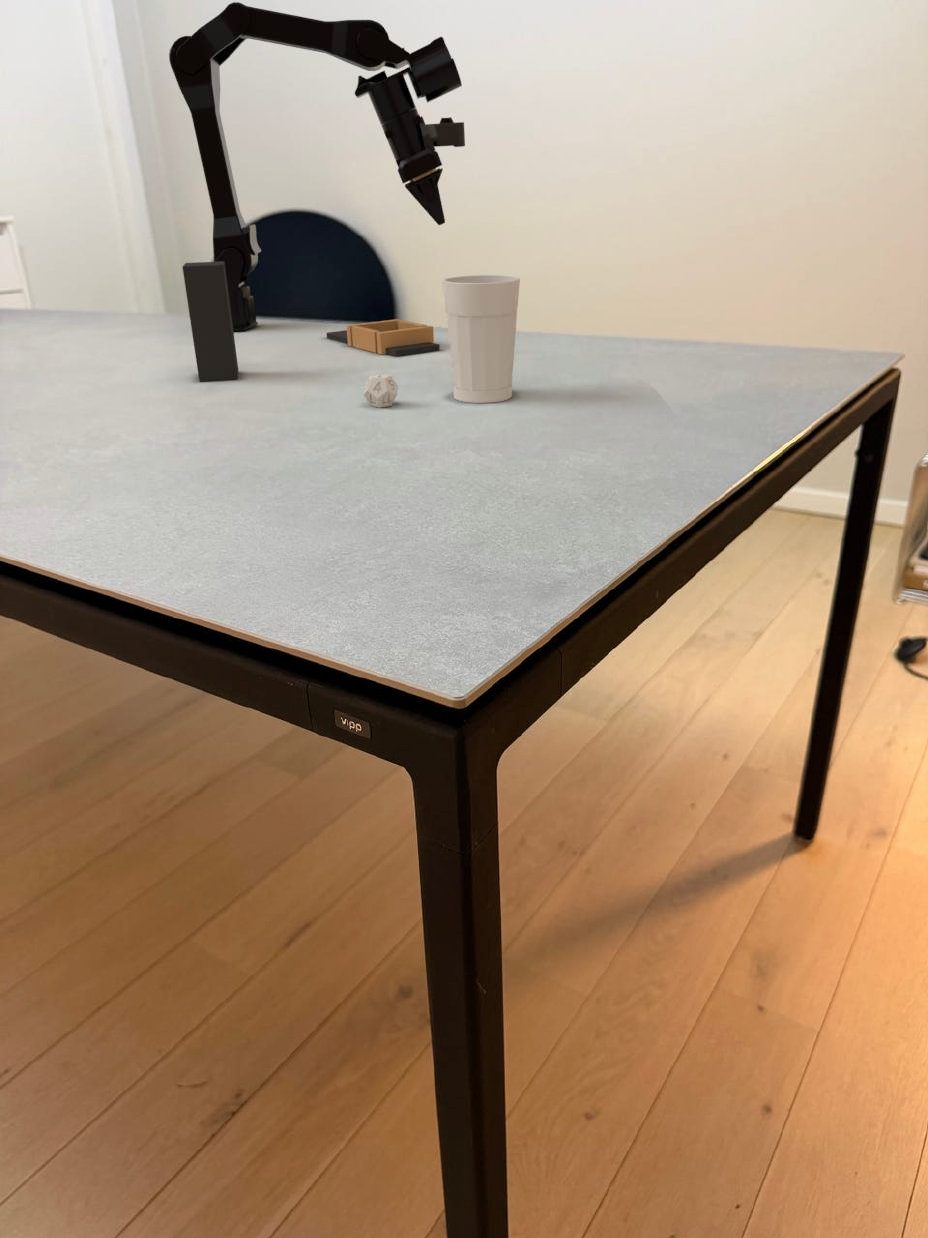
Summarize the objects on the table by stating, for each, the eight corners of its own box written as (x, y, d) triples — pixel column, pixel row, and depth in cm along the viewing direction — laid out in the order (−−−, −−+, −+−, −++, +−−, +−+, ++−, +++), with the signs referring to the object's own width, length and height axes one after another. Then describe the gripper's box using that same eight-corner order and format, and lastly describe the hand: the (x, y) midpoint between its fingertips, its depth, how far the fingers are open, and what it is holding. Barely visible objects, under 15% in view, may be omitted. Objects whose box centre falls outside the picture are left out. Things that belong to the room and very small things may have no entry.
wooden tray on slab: (322, 338, 137) (320, 319, 135) (371, 332, 141) (370, 313, 140) (390, 357, 122) (389, 335, 121) (444, 349, 126) (443, 328, 125)
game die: (401, 401, 98) (400, 372, 97) (394, 409, 95) (392, 380, 94) (369, 400, 99) (367, 372, 98) (361, 408, 96) (359, 379, 94)
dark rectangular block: (201, 374, 114) (185, 262, 109) (238, 372, 115) (224, 261, 109) (199, 381, 110) (182, 266, 105) (237, 379, 111) (222, 264, 105)
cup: (446, 388, 103) (443, 275, 98) (517, 387, 103) (518, 274, 98) (445, 405, 96) (441, 284, 91) (521, 403, 96) (521, 282, 91)
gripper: (451, 87, 126) (494, 201, 133) (446, 96, 143) (484, 198, 150) (378, 123, 128) (424, 234, 134) (381, 128, 145) (422, 227, 151)
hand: (441, 222), depth 142 cm, fingers open, 9 cm apart
